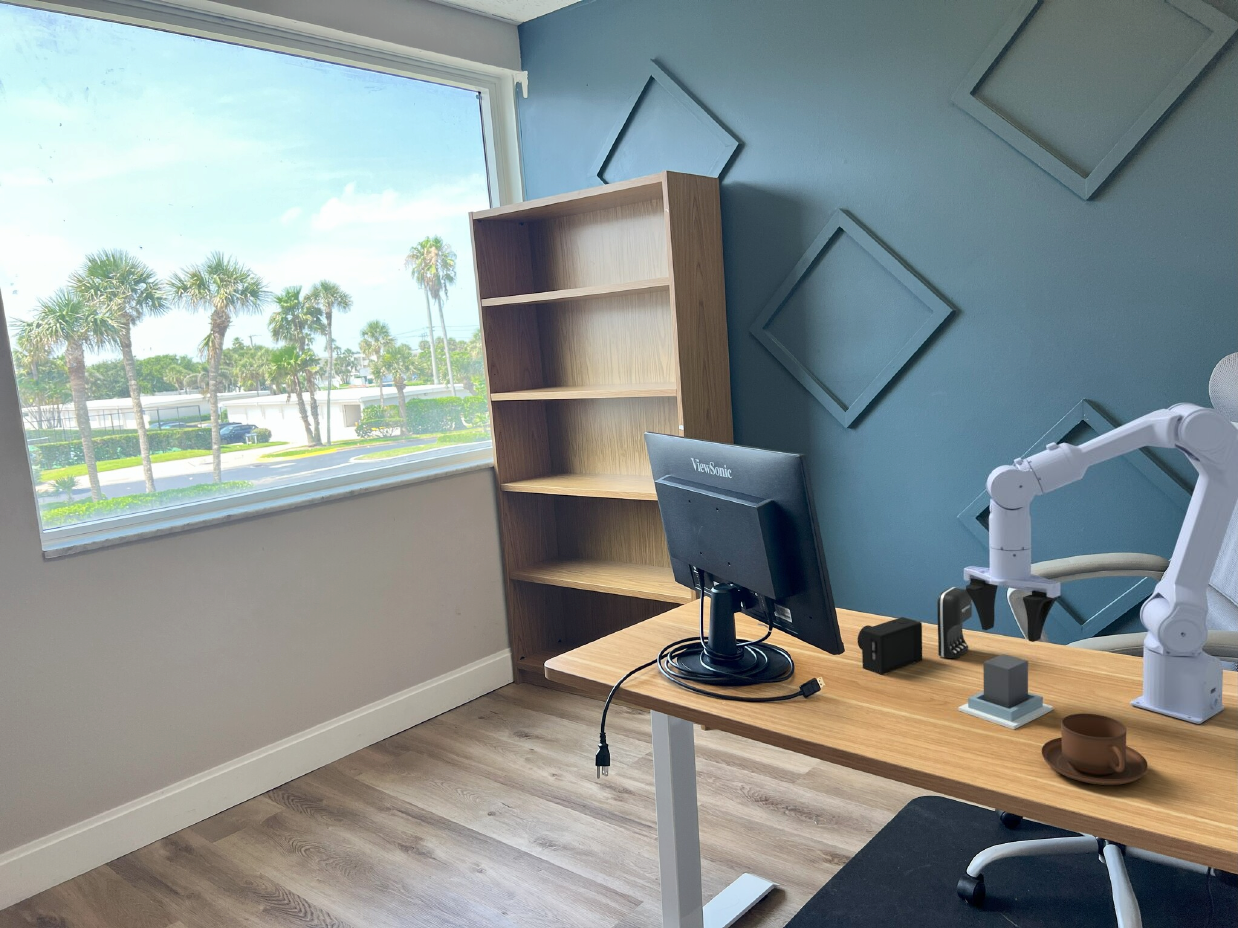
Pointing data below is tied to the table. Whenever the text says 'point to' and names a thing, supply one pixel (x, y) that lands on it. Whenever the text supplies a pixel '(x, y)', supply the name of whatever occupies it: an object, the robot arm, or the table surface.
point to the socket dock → (1006, 710)
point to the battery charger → (952, 621)
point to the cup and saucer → (1094, 751)
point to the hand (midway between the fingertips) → (1010, 634)
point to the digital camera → (891, 645)
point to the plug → (1005, 681)
